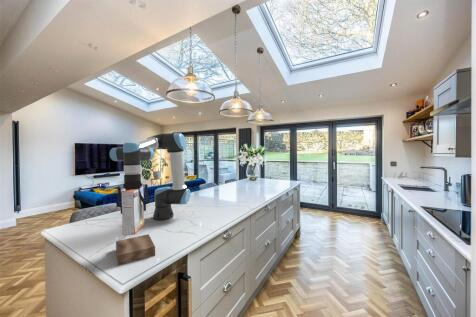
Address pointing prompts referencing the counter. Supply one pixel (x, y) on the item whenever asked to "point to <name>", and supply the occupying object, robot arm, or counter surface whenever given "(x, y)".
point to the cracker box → (132, 211)
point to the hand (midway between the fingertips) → (133, 218)
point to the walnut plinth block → (134, 249)
